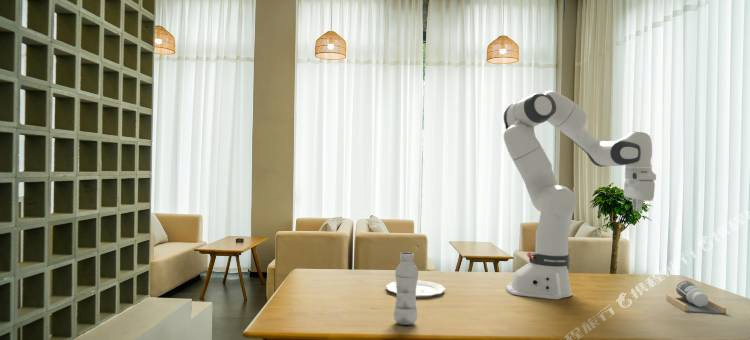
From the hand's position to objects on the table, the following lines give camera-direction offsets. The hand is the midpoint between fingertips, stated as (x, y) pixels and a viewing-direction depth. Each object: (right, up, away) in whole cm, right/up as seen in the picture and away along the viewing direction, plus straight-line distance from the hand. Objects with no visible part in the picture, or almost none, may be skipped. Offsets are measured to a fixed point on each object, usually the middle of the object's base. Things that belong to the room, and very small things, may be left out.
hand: (637, 211), depth 181 cm
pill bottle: (+7, -25, -17) cm, 31 cm away
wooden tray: (+5, -30, -24) cm, 39 cm away
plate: (-86, -28, -11) cm, 91 cm away
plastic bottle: (-91, -28, -47) cm, 106 cm away
